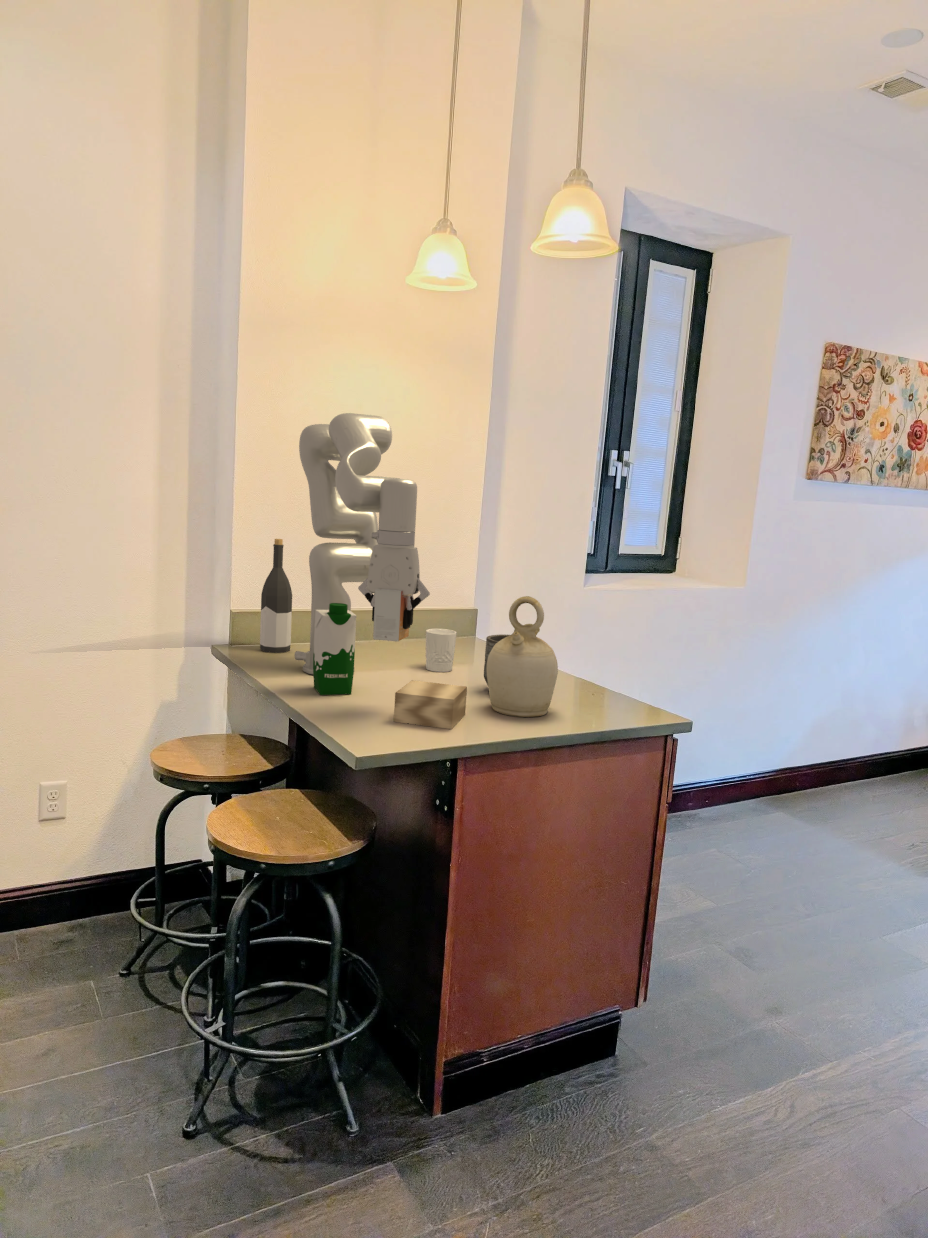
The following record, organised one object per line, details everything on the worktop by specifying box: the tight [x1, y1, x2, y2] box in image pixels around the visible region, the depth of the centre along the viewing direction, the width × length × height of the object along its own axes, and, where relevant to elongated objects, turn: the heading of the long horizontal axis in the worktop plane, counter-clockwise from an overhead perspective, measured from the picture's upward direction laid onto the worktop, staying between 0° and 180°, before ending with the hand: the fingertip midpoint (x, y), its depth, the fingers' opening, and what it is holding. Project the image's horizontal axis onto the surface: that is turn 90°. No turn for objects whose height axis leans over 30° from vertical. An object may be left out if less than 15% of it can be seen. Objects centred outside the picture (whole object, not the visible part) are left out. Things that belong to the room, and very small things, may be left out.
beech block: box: [393, 679, 468, 730], centre depth 180 cm, size 12×12×6 cm
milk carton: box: [312, 603, 357, 696], centre depth 196 cm, size 9×9×20 cm
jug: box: [486, 595, 559, 718], centre depth 190 cm, size 15×16×25 cm
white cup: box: [425, 628, 457, 673], centre depth 227 cm, size 8×8×10 cm
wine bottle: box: [259, 538, 293, 654], centre depth 236 cm, size 8×8×30 cm
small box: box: [372, 589, 410, 642], centre depth 183 cm, size 8×6×10 cm
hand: (392, 625), depth 183 cm, fingers closed on small box, 5 cm apart
